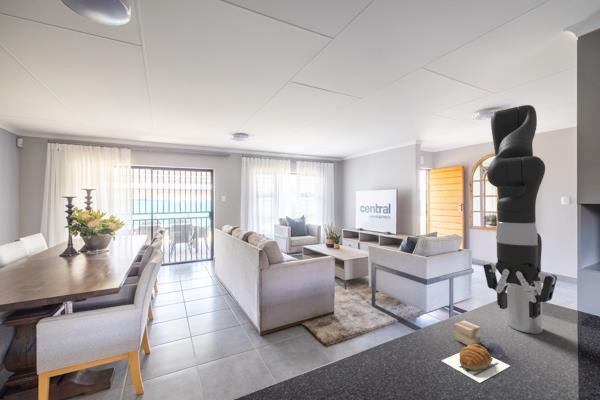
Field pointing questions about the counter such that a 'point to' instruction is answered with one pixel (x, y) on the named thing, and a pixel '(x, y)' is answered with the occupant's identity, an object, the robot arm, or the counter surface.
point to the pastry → (475, 357)
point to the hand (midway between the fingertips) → (517, 312)
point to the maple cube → (467, 332)
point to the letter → (479, 375)
